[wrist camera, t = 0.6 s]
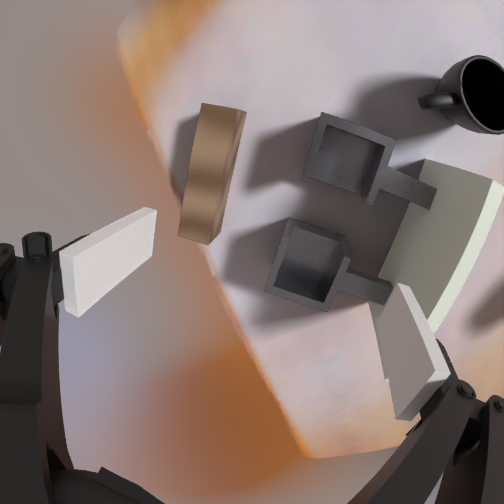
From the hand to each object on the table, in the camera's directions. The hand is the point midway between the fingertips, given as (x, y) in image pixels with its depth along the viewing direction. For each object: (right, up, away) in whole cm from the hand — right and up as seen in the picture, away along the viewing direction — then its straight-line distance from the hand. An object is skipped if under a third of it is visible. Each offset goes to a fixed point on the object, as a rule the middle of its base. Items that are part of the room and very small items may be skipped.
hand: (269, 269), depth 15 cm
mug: (+22, +19, +12) cm, 32 cm away
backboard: (+18, +3, +20) cm, 27 cm away
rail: (-5, +11, +22) cm, 25 cm away
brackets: (+11, +6, +20) cm, 24 cm away
